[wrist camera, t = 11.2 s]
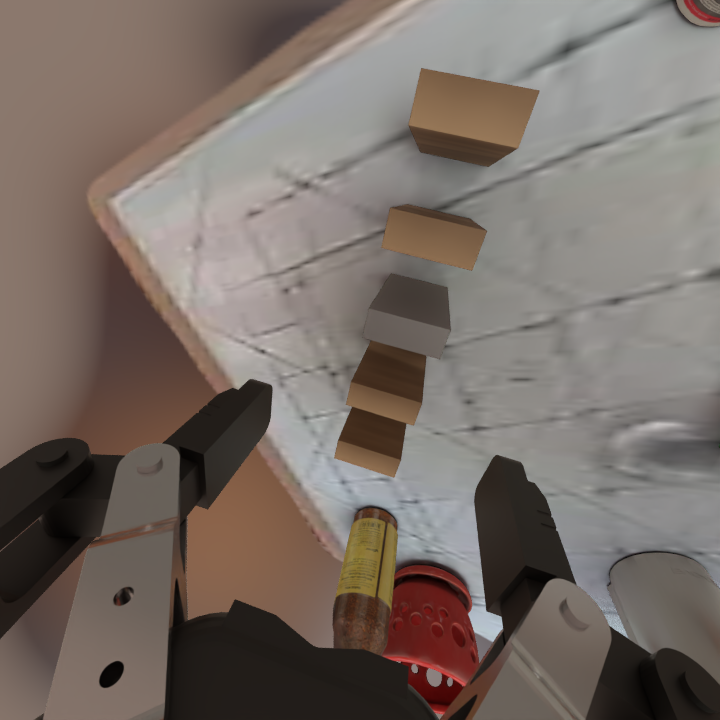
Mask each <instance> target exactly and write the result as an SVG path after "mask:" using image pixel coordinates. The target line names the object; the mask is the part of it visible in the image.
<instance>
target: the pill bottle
mask: <svg viewBox="0 0 720 720" xmlns="http://www.w3.org/2000/svg"><path fill="white" fill-rule="evenodd" d="M676 1H677V5H678V8H679V9H680V11H681V12H682V14H683V15H684V16H685V17H686V18H687V19H688V20H689V21H690V22H692V23H694V24H697V25H699V26H710V27H712V26H720V0H676Z"/></svg>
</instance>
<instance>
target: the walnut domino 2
mask: <svg viewBox="0 0 720 720" xmlns="http://www.w3.org/2000/svg"><path fill="white" fill-rule="evenodd" d="M405 429H406V423H404V422H401V421H397V420H394V419H391V418H388V417H384V416H381V415H378V414H375V413H372V412H368V411H365V410H362V409H359V408H355V407H352V409H351V411H350V413H349V416H348V418H347V420H346V423H345V425H344V428H343V430H342V432H341V435H340V437H339V439H338V443H337V448H336V452H335V457H334V458H336V459H339V460H342V461H345V462H348V463H351V464H354V465H357V466H360V467H363V468H366V469H369V470H372V471H375V472H378V473H381V474H385V475H388V476H391V477H395V474H396V472H397V469H398V466H399V464H400V461H401V456H402V449H403V442H404V436H405Z"/></svg>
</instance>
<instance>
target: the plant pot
mask: <svg viewBox="0 0 720 720" xmlns="http://www.w3.org/2000/svg"><path fill="white" fill-rule="evenodd" d="M471 608H472V600H471V596H470V594H469V592H468V590H467V589H466V587H465V586H464V585H463V583H462V582H461V581H460V580H458V579H457V578H456V577H455V576H453V575H452V574H450V573H448V572H446V571H444V570H442V569H439V568H436V567H432V566H426V565H413V566H408V567H405V568H403V569H401V570H399V571H398V572H397V573H395V575H394V585H393V596H392V607H391V615H390V619H389V630H388V641H387V645H386V648H385V649H384V651H383V653H382V656H383V657H385V658H388V659H390V660H393V661H395V662H396V661H401V664H403V665H406V666H408V667H409V674H408V684H409V685H411V686H412V687H413V688H414V689H415V690H416V691H417V692H418V693H419V694H420V695H421V696H422V697H423V698H424V699H425V701H426V702H427V703H428V704H429V706H430V707H431V708H432V709H433V711H434V712H435V713H439V714H444V713H445V712H446V710H447V709H448V707H449V706H450V705H451V703H452V702H453V701H454V700H455V699H456V697H457V696H458V695H459V693H460V692H461V691H462V689H463V688H464V686H465V685H466V683H467V682H468V680H469V679H470V677H471V676H472V674H473V673H474V671H475V670H476V668H477V666H478V665H479V657H478V650H477V645H476V640H475V635H474V631H473V627H472V624H471V621H470V618H469V616H468V613H469V612H470V611H471ZM412 664H416V666H417V667H418V672H417V673H413V672H412V670H411V666H412ZM428 668H431V669H434V670H436V671H439V672H441V673H442V681H441V684H440V685H439V686H437V687H433V686H431V685H430V684H429V682H428V680H427V677H426V673H427V670H428ZM449 677H451V678H452V679H453V684H452V686H450V687H449V686H448V685H447V680H448V678H449ZM462 685H463V686H462Z"/></svg>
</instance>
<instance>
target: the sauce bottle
mask: <svg viewBox="0 0 720 720" xmlns="http://www.w3.org/2000/svg"><path fill="white" fill-rule="evenodd" d="M397 539H398V534H397V522H396V521H395V519H394V518H393V517H392V516H391V515H390V514H389V513H387V512H386V511H383V510H381V509H376V508H364V509H362V510H360V511H359V512H358V513H357V514H356V516H355V518H354V523H353V525H352V527H351V531H350V535H349V539H348V544H347V548H346V553H345V558H344V562H343V566H342V571H341V575H340V580H339V584H338V589H337V593H336V598H335V602H334V608H333V631H334V648H339V649H365V650H367V651H370V652H372V653H375V654H377V655H380V656H382V653H383V651H384V649H385V648H386V645H387V641H388V630H389V619H390V615H391V607H392V596H393V585H394V575H395V563H396V551H397Z"/></svg>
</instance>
